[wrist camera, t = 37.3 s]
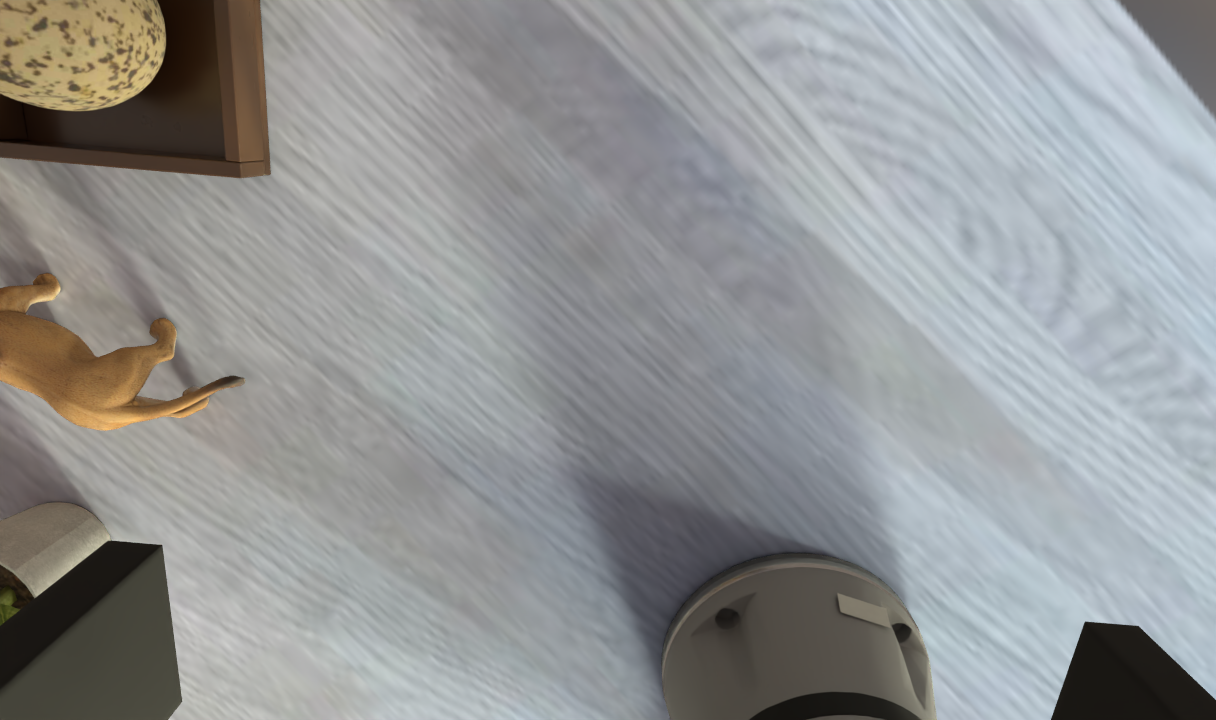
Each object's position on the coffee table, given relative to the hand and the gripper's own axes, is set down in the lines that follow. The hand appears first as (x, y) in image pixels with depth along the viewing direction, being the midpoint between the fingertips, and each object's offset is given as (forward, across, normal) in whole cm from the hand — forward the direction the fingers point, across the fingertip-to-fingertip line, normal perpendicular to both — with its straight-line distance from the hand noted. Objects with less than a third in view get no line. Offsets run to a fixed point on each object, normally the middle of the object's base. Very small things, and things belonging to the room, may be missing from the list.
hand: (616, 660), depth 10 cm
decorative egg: (+26, -23, +10) cm, 37 cm away
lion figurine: (+27, -27, -5) cm, 38 cm away
